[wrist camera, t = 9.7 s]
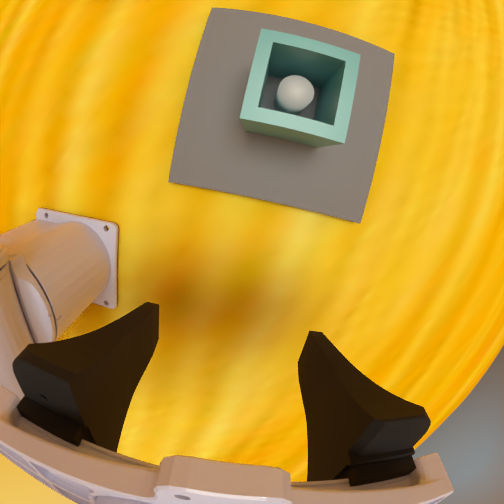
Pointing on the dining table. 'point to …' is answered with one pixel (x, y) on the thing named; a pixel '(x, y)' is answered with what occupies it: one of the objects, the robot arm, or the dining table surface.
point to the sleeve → (317, 73)
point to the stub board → (270, 155)
